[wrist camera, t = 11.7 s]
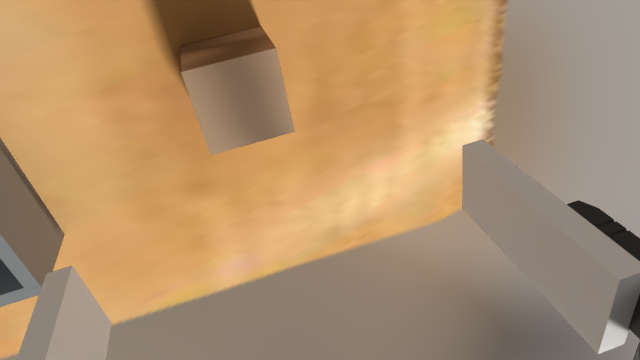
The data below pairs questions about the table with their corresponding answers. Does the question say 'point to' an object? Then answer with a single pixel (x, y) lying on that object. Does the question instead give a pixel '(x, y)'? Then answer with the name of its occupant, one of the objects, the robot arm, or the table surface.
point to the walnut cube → (236, 89)
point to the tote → (23, 234)
